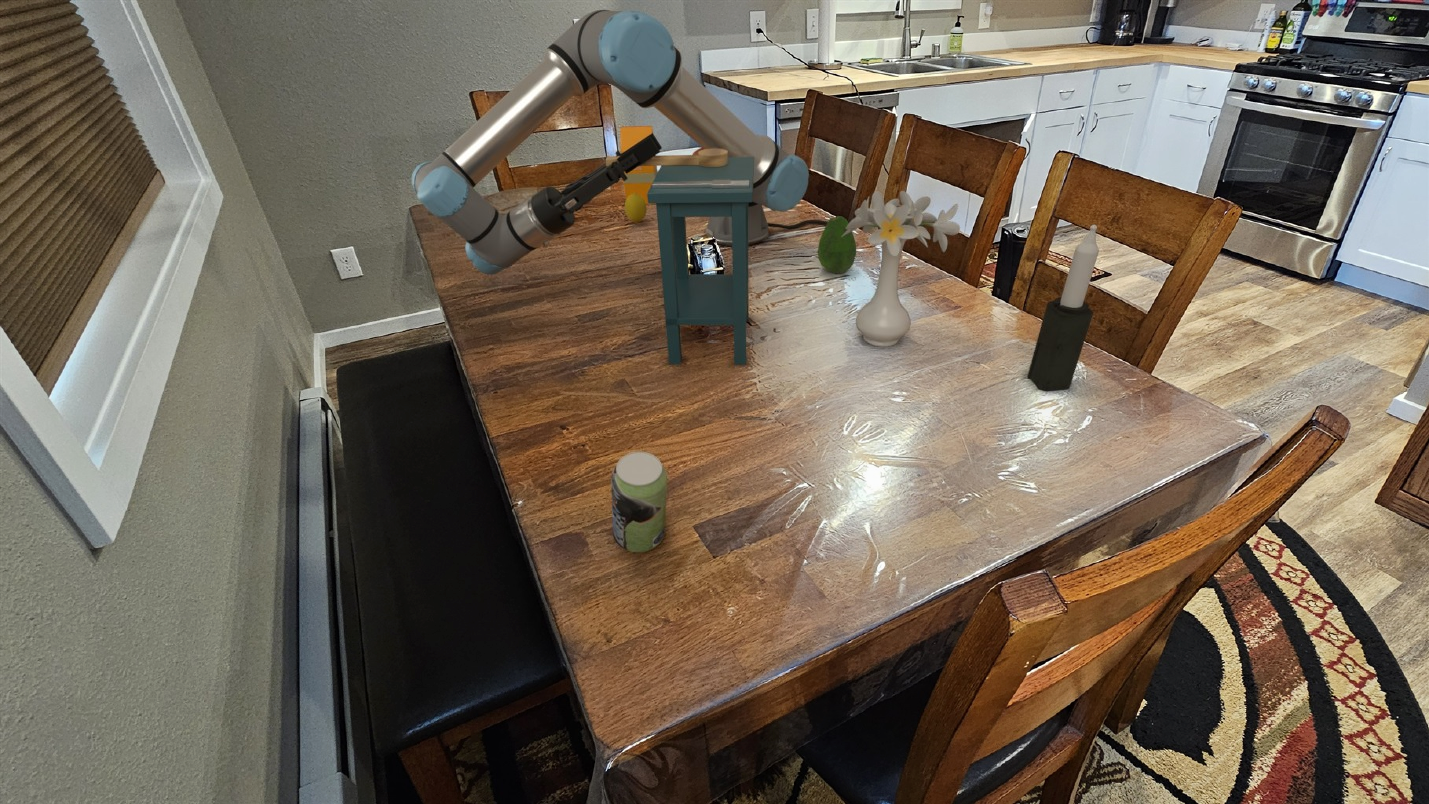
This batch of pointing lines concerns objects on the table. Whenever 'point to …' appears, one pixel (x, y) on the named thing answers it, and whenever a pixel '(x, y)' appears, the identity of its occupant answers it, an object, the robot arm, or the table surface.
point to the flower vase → (894, 259)
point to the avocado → (836, 246)
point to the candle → (1065, 323)
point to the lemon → (635, 208)
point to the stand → (684, 293)
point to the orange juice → (641, 175)
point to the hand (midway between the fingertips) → (655, 142)
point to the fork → (703, 184)
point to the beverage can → (638, 501)
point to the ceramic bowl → (511, 198)
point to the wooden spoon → (685, 159)
